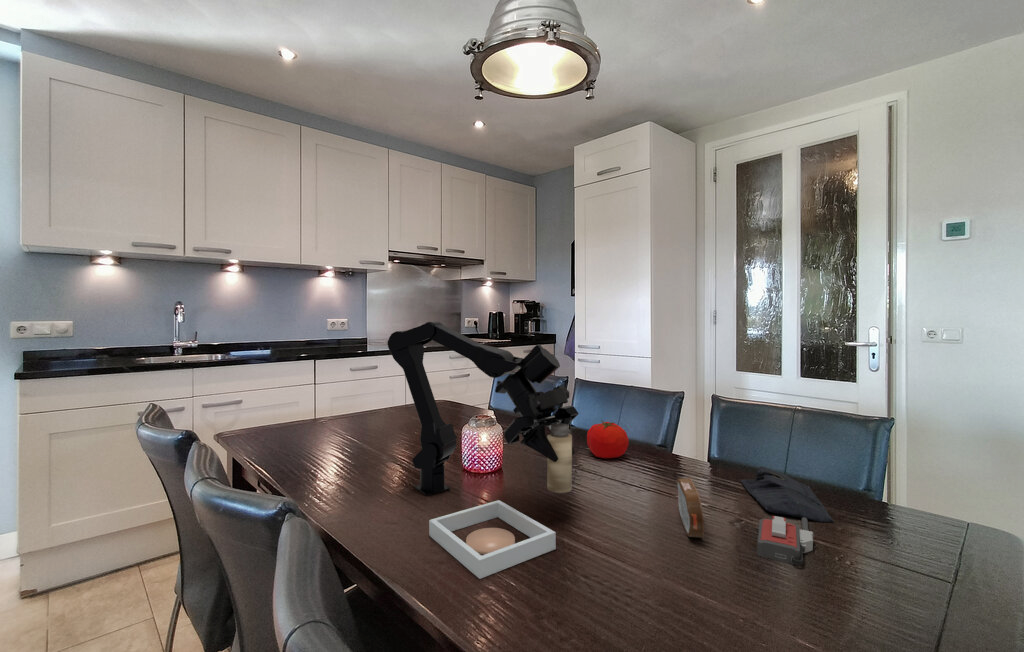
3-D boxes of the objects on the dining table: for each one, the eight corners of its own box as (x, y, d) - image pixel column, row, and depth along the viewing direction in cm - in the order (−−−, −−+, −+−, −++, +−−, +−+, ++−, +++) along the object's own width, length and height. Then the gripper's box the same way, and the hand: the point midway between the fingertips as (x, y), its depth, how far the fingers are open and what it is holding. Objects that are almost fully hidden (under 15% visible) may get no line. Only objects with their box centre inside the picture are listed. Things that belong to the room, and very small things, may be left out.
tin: (705, 546, 84) (705, 500, 84) (687, 544, 85) (687, 499, 84) (690, 511, 99) (691, 472, 99) (675, 510, 99) (675, 471, 99)
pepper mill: (542, 487, 96) (542, 424, 96) (560, 482, 99) (560, 421, 99) (558, 494, 92) (558, 429, 92) (576, 489, 95) (577, 426, 95)
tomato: (594, 448, 145) (594, 415, 145) (634, 455, 138) (634, 421, 138) (578, 457, 136) (578, 422, 136) (619, 465, 129) (619, 428, 129)
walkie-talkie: (816, 575, 75) (810, 527, 92) (816, 548, 75) (811, 505, 92) (755, 561, 80) (760, 517, 97) (755, 535, 80) (761, 496, 97)
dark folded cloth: (754, 517, 97) (754, 494, 97) (738, 481, 118) (739, 462, 118) (840, 527, 92) (840, 504, 92) (808, 488, 113) (808, 469, 113)
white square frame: (429, 535, 88) (429, 520, 88) (498, 514, 98) (498, 500, 98) (479, 578, 74) (479, 560, 74) (555, 548, 83) (555, 532, 83)
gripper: (514, 377, 91) (558, 444, 84) (571, 369, 104) (614, 426, 97) (486, 411, 97) (526, 477, 89) (544, 400, 110) (582, 456, 103)
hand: (564, 457), depth 94 cm, fingers closed on pepper mill, 5 cm apart
